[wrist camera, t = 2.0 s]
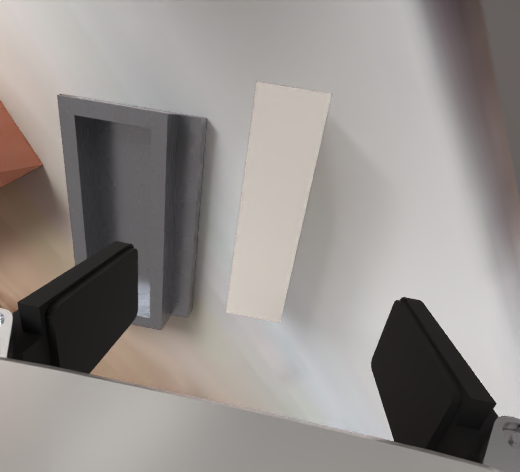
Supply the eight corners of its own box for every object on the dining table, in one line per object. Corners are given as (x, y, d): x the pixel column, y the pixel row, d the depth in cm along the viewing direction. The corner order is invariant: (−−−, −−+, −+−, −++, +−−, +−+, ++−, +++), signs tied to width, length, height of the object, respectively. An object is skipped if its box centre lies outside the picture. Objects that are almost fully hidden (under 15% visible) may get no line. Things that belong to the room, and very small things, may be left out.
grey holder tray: (72, 95, 25) (33, 90, 21) (206, 118, 24) (191, 117, 21) (89, 288, 33) (63, 310, 29) (192, 309, 32) (178, 333, 28)
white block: (269, 95, 23) (256, 81, 15) (318, 103, 23) (332, 93, 15) (245, 257, 29) (225, 312, 21) (283, 265, 29) (280, 322, 21)
